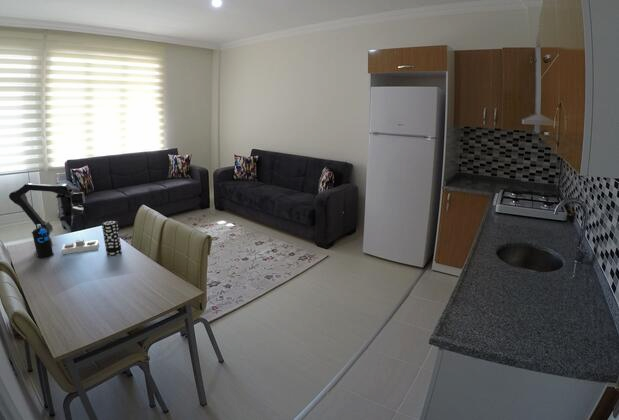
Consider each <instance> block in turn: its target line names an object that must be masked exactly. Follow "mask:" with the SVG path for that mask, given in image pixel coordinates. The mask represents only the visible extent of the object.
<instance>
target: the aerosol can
mask: <svg viewBox="0 0 619 420" xmlns="http://www.w3.org/2000/svg"><path fill="white" fill-rule="evenodd" d="M48 231H49V230H48V229H46V228H42V227H41V224H38V225H37V229H36V228H35V229H33V230H32V231H31V234H32V239H33V243H34V247H35V250H36V251H35V252H36V255H37V256H36V258H37V259H47V258H50V257H52V256H54V254H55V253H54V252H53V247H52V246H53V245H51V241H50V238H51V236H50V235H49V232H48ZM49 236H50V237H49Z"/></svg>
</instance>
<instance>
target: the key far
mask: <svg viewBox="0 0 619 420" xmlns="http://www.w3.org/2000/svg"><path fill="white" fill-rule="evenodd" d="M87 241H88V242H87ZM87 241H86V242H87V245H91V244H96V243H95V239H92V240H87Z"/></svg>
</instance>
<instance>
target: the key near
mask: <svg viewBox="0 0 619 420" xmlns="http://www.w3.org/2000/svg"><path fill="white" fill-rule="evenodd" d="M73 243H74V242H69V243H64V244H65V248H68V247H73V246H74V245H73Z"/></svg>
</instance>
